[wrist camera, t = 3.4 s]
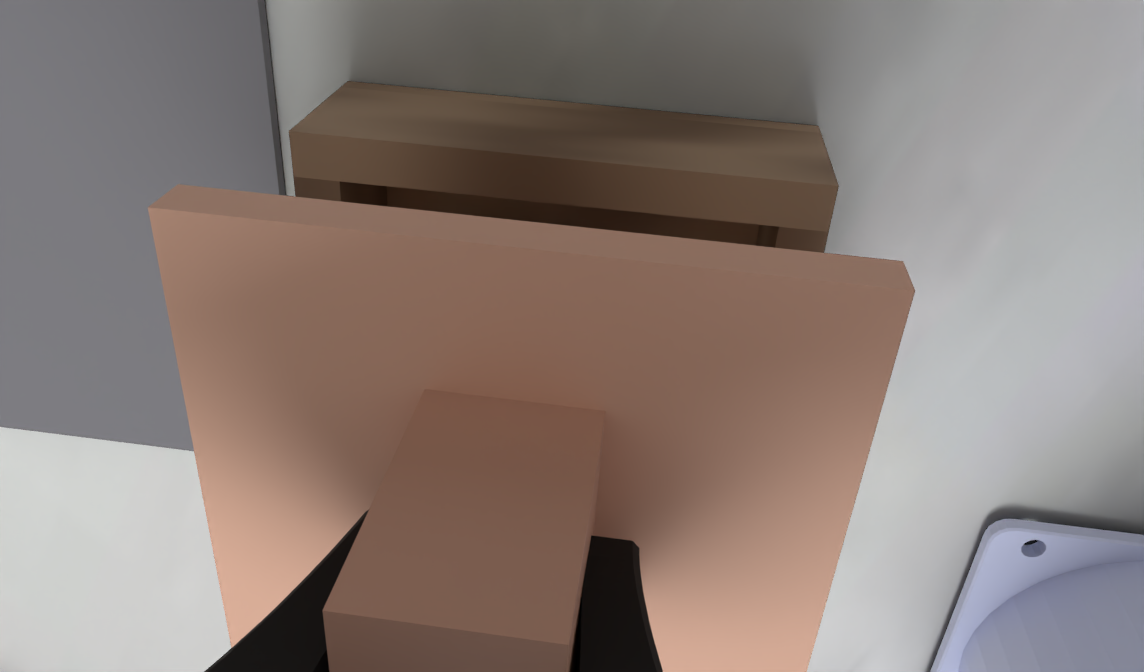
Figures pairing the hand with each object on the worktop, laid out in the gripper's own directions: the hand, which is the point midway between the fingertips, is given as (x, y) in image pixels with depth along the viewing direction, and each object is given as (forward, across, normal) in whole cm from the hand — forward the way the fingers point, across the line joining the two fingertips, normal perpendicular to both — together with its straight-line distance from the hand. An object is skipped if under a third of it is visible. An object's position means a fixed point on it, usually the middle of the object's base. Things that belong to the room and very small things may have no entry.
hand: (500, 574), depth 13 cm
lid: (+2, 0, 0) cm, 2 cm away
